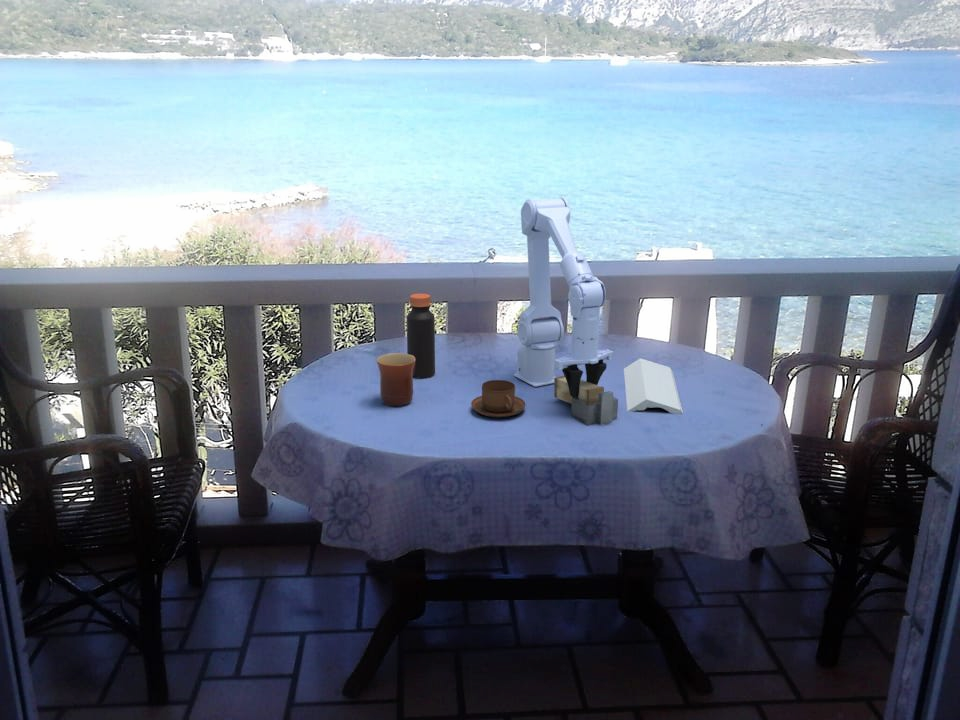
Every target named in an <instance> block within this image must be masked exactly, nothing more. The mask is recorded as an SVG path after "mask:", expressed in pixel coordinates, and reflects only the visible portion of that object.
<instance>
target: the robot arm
mask: <svg viewBox="0 0 960 720" xmlns="http://www.w3.org/2000/svg"><path fill="white" fill-rule="evenodd" d="M520 218H521V219H520V220H521V221H520V222H521V223H520V224H521V232H522V234H523V236H526V239H527V240H526V241H527V242H526V243H527V245H526V246H527V247H526V248H527V265H528V266H527V267H528V269H527V270H528V287H529V289H528V290H529V306H527V308H525V309H524V310H522V312H521V313H520V314H519V322H518V326H517V335H518V339H519V341H520V345H519V347H518V349H517V361H516V363H517V364H516V373H514V374H513V376H514V377H516V378H517V379H519V380H521V381H523V382H525V383H526V384H529V385H530V386H533V387H534V388H537V387H542V386H546V385H551V384H554V378H555V377H556V376H555V369H556V370H558V371H562V373H563V376H565V378H566V380H567V383H568V387H569V392H570V396H572V397H575V396H576V397H578V395H579V385H580V380H582V377H583V374H584V371H583V370H582V369H579V368H580V367H578V366H582V365H584V367H585V368H584V369H585V373H586V377H585V379H586V380H585V381H587V382H589V383H592V384H595V385H598V384H599V382H600V380H601V377H602V376H603V374H604V372H605V371H606V369H607V363H605V362H604V361H612V360H613V356H614V351H612V350H610V349H608V348H607V349H599V347H598V346H599V333H600V332H599V330H600V329H599V328H600V316H601V315H600V314H601V313H600V312H601V311H600V309H601V308H602V307H604V306H605V304H606V300H607V293H606V291H607V290H606V287H605V284H604V282H603V281H602V280H599V278H598V277H597V276H594V274H593V272H592V270H591V268H590V265H589V262H588V261H587V258H586V257H585V254H584V253H581V252H579V251H578V250H577V247H576V243H575V241H574V238H573V234H572V232H571V227H570V221H571V207H570V204H569V202H568V200H567V199H566V198H565V197H562V196H561V197H558V198H557V197H555V198H541V199H531V198H529V199H526V200H525V201H524V203H523V204H522V206H521V209H520ZM550 238H551V239H552V241H553V243H554V245H555V247H556V249H557V251H558V253H559V254H560V256H561V258H562V259H561V260H560V262H559V266H560V269H561V271H562V274H563V276H564V278H565V281H566V284H567V285H568V288H569V291H568V293H567V295H568V297H567V298H568V303H569V306H570V311H569V313H570V316H572V326H571V328H572V329H571V347H570V348H571V350H570V351H571V352H570V353H569V354H567V355H564V356H562V357H559V358H556V347H558V346H559V343H560V342H561V341H562V340H563V337H564V333H565V330H564V329H565V328H564V324H563V321H562V315H561V312H560V310H559V309H557V308H556V307H554V306H553V305H552V291H551V271H550V270H551V265H550V263H551V262H550V245H549V244H550V243H549V241H550ZM598 386H599V385H598Z"/></svg>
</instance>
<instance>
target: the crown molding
mask: <svg viewBox="0 0 960 720" xmlns="http://www.w3.org/2000/svg"><path fill="white" fill-rule="evenodd" d="M623 374H624V375H623V378H624V387H625V398H626V400H625V401H626V409H627V410H626V411H627V412H637V411H645V410H646V409H648V408H651V409H652V408H661V409H663V410H665V411H667V412H668V413H670V414H676V415H678V414H679V415H683V414H684V411H683V408H682V407H683V406H682V404H681V400H680V395H679V392H678V388H677V384H676V380H675V376H674V372H673V369H671V367H670V366H666V365H663V364H659V363H656V362H654V361H650V360H646V359H645V358H644V359H643V358H641V357H640V358H638V359H637V360H635V361H633V362H632V363H630V364H629V365H628V366H626V367H624V368H623Z"/></svg>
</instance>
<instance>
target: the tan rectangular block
mask: <svg viewBox="0 0 960 720" xmlns="http://www.w3.org/2000/svg"><path fill="white" fill-rule="evenodd" d="M553 385H554V387H553V388H554V393H553V395H554V398H556V399H559V400H562V401H563V402H567V403H568V404H571V405H572V396H570V392H569V387H568V383H567V380H566V378H565V375H561V376H555V378H554V383H553ZM603 392H605V387H604V386H600V385H595V384H592V383H589V382H587V381H586V380H584V379H581V380H580V385H579V395H578V398H580V399H581V400H583V401H585V402H587V403H589V404H591V403H595V402H598V397H599V393H603Z"/></svg>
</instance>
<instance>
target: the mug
mask: <svg viewBox="0 0 960 720" xmlns="http://www.w3.org/2000/svg"><path fill="white" fill-rule="evenodd" d="M415 360H416V359H415V357H414V355H411V354H407V353H401V352H397V353H396V352H395V353H394V352H393V353H386V354H382V355H380V356H378V357H377V358H376V363H377V366H378V371H379V376H380V378H379V379H380V382H379V384H380V385H379V387H380V388H379V389H380V392H379V394H380V398H381V402H382V403H384V404H385V405H387V406H389V407H404V406H406V405H408V404H410V403H411V402H412V400H413V397H414V378H413V375H414V371H415Z"/></svg>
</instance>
